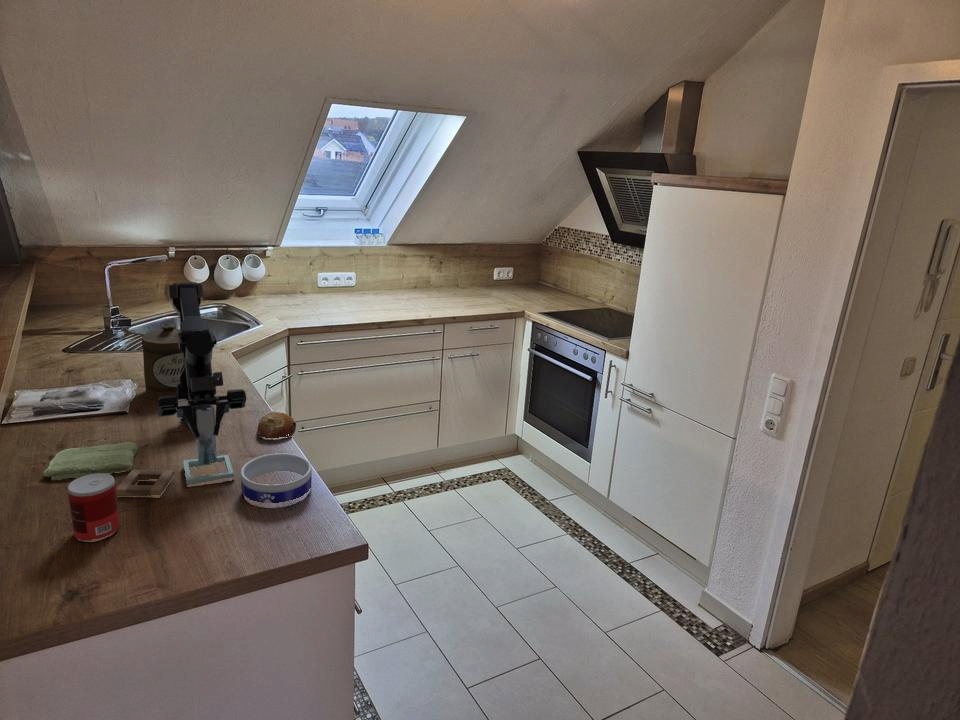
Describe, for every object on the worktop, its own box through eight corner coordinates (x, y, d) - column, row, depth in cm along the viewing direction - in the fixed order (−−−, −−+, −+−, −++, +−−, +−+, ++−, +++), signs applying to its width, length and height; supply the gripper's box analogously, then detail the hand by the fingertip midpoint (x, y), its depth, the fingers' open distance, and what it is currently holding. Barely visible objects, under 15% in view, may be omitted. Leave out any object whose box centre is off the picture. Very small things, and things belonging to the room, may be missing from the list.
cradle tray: (183, 468, 153) (183, 460, 152) (228, 461, 157) (228, 454, 157) (186, 488, 144) (186, 480, 144) (234, 481, 149) (233, 473, 148)
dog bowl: (239, 512, 137) (238, 487, 135) (243, 477, 151) (242, 454, 149) (313, 506, 142) (313, 482, 140) (310, 473, 155) (310, 451, 154)
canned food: (127, 522, 130) (122, 473, 127) (106, 545, 123) (100, 494, 119) (88, 520, 130) (82, 471, 127) (65, 543, 122) (58, 492, 119)
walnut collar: (133, 477, 147) (132, 469, 146) (174, 478, 148) (174, 470, 147) (116, 497, 138) (115, 489, 138) (160, 498, 140) (159, 490, 139)
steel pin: (194, 460, 149) (191, 409, 145) (208, 454, 152) (205, 403, 148) (207, 465, 147) (204, 413, 143) (220, 458, 151) (218, 407, 147)
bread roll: (263, 438, 179) (249, 415, 176) (297, 421, 181) (284, 398, 177) (265, 454, 170) (250, 430, 167) (301, 436, 172) (287, 412, 169)
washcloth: (56, 457, 154) (54, 445, 153) (138, 450, 160) (137, 439, 159) (42, 484, 142) (40, 471, 141) (132, 475, 148) (131, 463, 147)
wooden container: (161, 405, 186) (156, 332, 179) (136, 391, 194) (130, 321, 187) (209, 393, 197) (205, 324, 190) (183, 380, 205) (179, 313, 198)
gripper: (154, 363, 141) (160, 429, 136) (243, 357, 150) (252, 419, 144) (156, 384, 150) (161, 446, 145) (240, 377, 159) (248, 436, 153)
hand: (206, 436), depth 147 cm, fingers closed on steel pin, 4 cm apart
